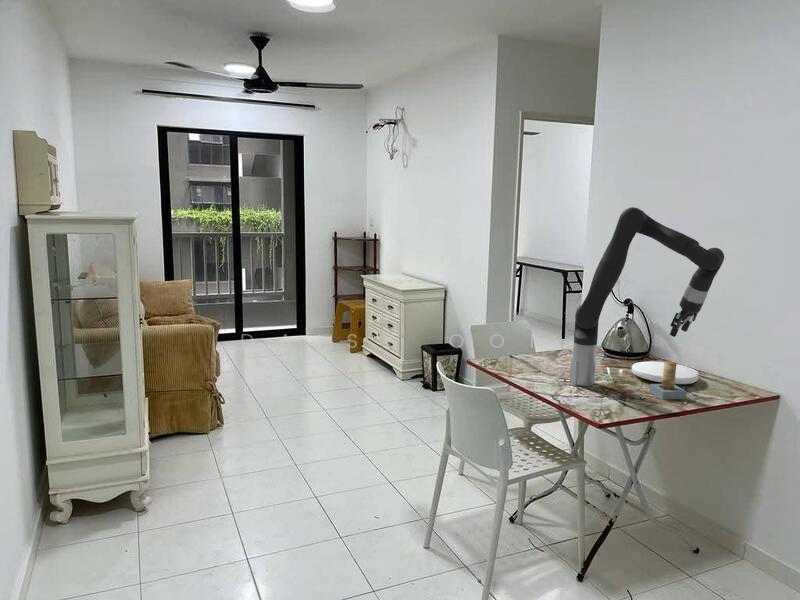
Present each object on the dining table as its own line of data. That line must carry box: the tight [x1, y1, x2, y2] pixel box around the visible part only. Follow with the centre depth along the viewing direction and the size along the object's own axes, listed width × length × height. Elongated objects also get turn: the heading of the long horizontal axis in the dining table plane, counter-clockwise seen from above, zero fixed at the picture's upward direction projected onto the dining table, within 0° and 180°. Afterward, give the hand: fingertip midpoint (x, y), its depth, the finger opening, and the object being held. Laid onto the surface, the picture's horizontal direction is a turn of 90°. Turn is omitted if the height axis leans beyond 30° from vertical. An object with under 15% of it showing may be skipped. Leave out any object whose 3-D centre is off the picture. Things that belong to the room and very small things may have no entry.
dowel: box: [661, 361, 677, 390], centre depth 227 cm, size 4×4×13 cm
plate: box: [631, 360, 700, 385], centre depth 250 cm, size 28×6×27 cm
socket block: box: [649, 383, 687, 400], centre depth 228 cm, size 10×10×3 cm
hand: (678, 333), depth 228 cm, fingers open, 8 cm apart
